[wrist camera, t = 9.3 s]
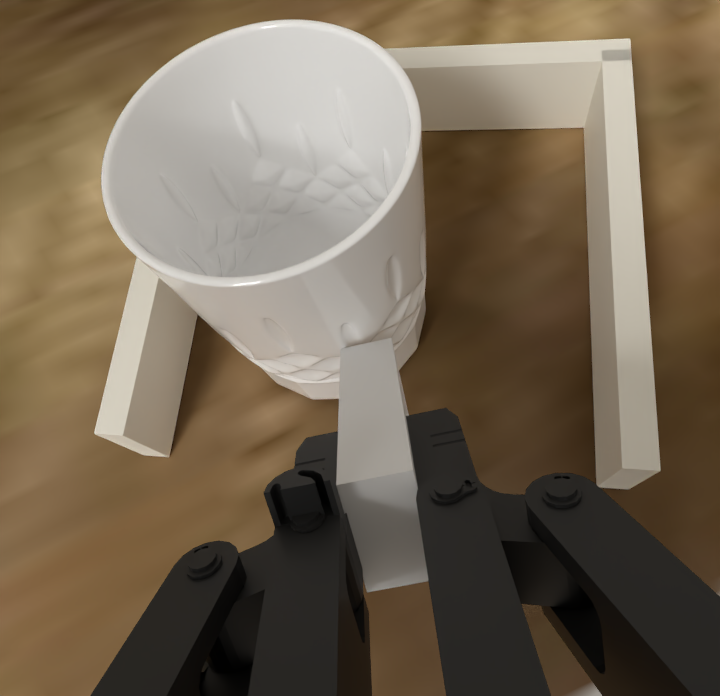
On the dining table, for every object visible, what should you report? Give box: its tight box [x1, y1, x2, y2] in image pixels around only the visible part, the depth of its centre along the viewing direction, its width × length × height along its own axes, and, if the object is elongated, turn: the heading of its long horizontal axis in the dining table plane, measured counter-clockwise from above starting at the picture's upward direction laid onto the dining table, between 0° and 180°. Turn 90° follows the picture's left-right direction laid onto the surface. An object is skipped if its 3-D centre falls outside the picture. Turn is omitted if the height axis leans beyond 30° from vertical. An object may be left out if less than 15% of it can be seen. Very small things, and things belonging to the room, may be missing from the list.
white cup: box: [101, 19, 426, 400], centre depth 20 cm, size 8×8×10 cm
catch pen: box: [94, 39, 661, 489], centre depth 23 cm, size 16×17×4 cm
